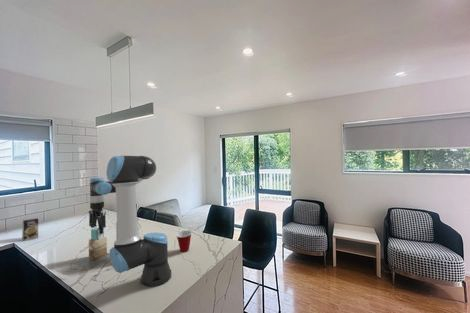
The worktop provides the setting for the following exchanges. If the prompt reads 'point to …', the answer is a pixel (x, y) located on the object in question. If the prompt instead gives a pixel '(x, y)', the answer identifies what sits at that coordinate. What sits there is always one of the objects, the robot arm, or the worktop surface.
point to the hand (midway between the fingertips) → (97, 238)
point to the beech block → (97, 244)
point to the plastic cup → (184, 240)
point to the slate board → (92, 262)
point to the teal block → (95, 234)
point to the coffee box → (30, 229)
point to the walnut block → (98, 254)
